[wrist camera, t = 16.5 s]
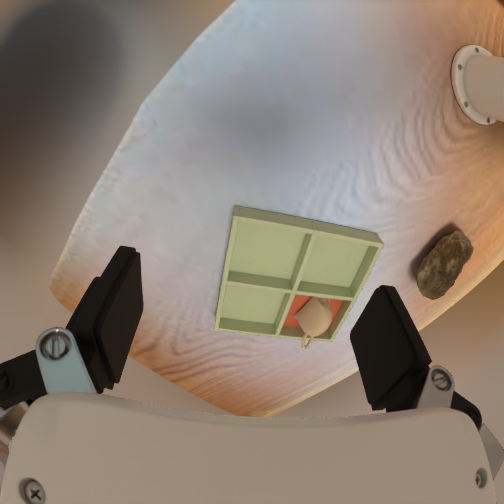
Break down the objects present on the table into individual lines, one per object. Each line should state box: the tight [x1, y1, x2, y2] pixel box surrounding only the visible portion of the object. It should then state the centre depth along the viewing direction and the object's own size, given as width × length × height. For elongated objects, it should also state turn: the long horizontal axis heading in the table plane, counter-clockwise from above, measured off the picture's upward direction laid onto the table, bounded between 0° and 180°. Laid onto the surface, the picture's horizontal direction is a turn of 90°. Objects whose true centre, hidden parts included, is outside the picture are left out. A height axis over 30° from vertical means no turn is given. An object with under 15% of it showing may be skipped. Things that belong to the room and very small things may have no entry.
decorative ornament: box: [294, 296, 332, 349], centre depth 45 cm, size 4×8×5 cm, turn 148°
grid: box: [214, 206, 384, 342], centre depth 43 cm, size 21×21×3 cm
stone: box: [417, 230, 473, 300], centre depth 40 cm, size 13×8×8 cm
